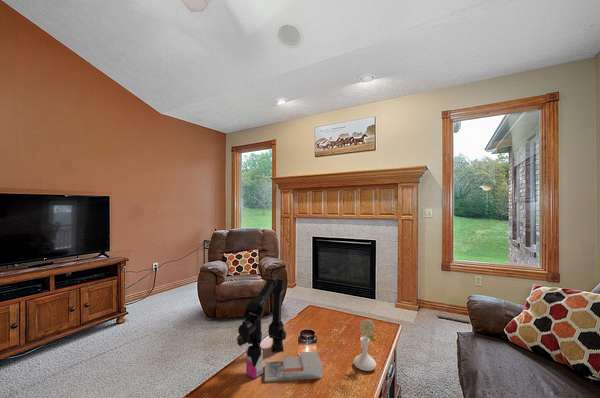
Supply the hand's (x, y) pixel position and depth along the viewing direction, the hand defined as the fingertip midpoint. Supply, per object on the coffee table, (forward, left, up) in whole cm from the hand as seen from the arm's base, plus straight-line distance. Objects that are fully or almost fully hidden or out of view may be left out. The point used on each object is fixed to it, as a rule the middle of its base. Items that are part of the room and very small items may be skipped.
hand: (254, 360), depth 127 cm
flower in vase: (0, +56, -7) cm, 56 cm away
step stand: (0, +18, -6) cm, 20 cm away
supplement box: (0, 0, -7) cm, 7 cm away
